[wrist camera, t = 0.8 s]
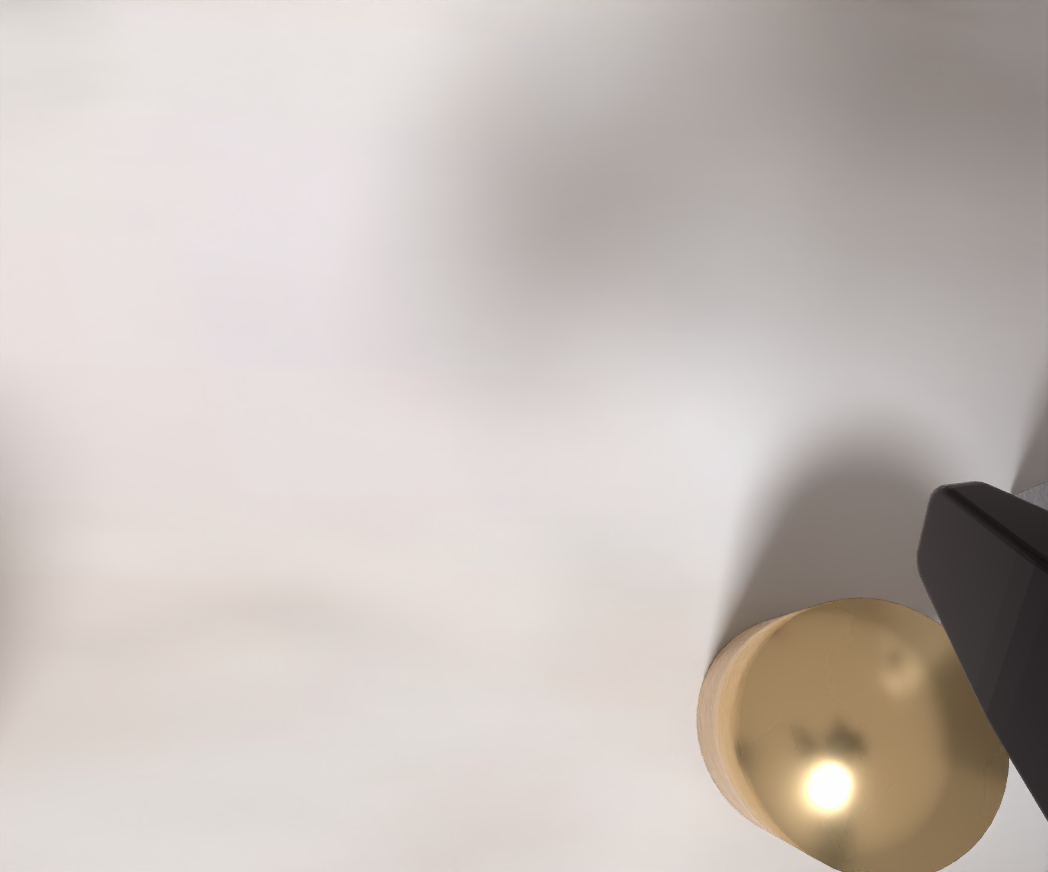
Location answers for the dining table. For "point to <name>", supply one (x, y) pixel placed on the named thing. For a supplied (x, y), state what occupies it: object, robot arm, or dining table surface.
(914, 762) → the cylinder
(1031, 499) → the valve body
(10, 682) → the dining table surface
